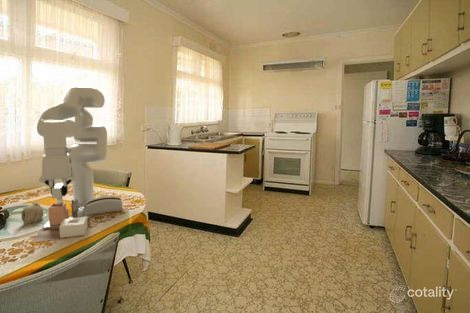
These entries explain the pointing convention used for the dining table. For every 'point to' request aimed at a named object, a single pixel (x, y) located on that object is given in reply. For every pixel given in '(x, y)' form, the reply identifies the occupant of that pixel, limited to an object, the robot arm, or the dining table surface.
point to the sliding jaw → (57, 214)
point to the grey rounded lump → (32, 213)
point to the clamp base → (79, 213)
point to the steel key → (58, 193)
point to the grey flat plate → (51, 234)
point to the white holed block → (73, 227)
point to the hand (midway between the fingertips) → (59, 195)
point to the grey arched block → (103, 205)
